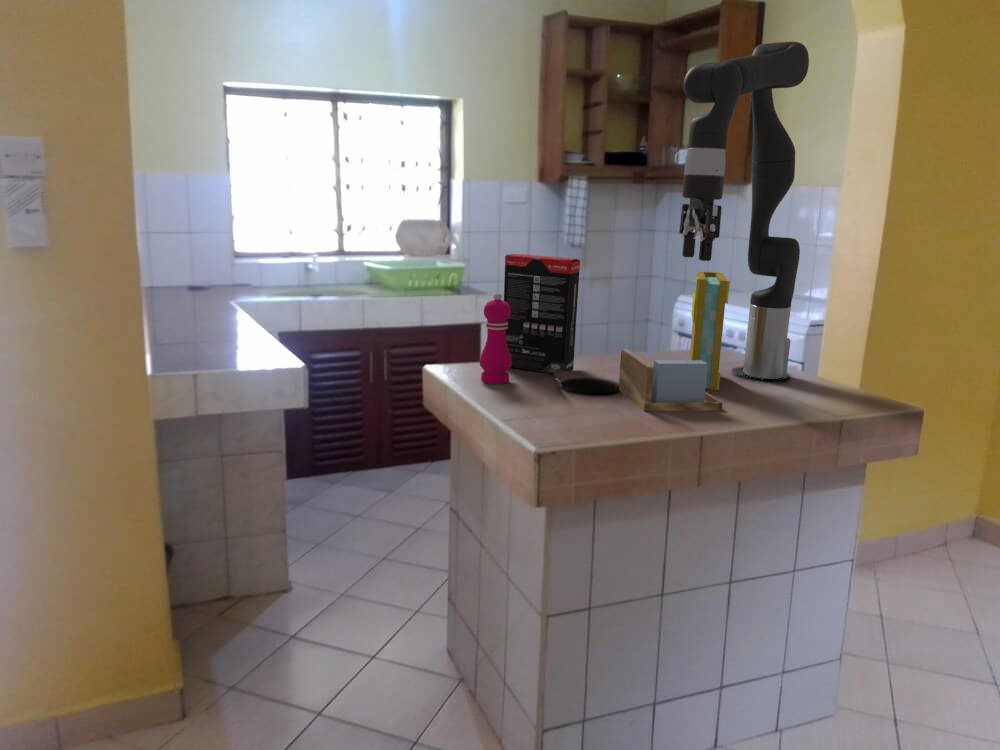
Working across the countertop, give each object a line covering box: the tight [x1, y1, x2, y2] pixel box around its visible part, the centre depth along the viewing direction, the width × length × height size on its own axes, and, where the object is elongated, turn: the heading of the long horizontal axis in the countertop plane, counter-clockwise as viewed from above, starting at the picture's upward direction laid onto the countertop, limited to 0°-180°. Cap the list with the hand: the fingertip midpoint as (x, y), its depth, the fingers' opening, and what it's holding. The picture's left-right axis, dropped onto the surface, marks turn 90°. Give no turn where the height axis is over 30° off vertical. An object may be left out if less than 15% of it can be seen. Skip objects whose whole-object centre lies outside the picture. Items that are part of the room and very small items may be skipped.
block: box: [651, 359, 708, 403], centre depth 161 cm, size 10×3×9 cm, turn 99°
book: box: [688, 271, 731, 391], centre depth 182 cm, size 17×7×25 cm, turn 168°
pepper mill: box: [479, 292, 512, 385], centre depth 180 cm, size 7×7×20 cm
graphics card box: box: [503, 253, 581, 375], centre depth 191 cm, size 17×7×27 cm, turn 65°
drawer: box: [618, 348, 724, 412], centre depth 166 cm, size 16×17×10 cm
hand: (696, 258), depth 158 cm, fingers open, 8 cm apart
